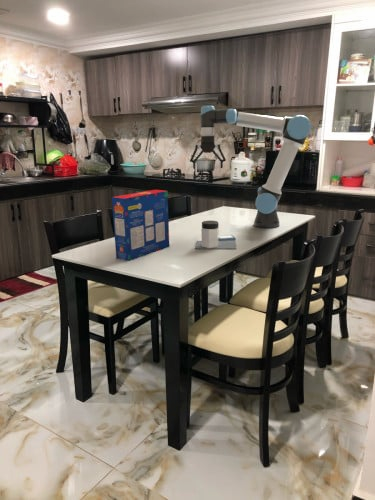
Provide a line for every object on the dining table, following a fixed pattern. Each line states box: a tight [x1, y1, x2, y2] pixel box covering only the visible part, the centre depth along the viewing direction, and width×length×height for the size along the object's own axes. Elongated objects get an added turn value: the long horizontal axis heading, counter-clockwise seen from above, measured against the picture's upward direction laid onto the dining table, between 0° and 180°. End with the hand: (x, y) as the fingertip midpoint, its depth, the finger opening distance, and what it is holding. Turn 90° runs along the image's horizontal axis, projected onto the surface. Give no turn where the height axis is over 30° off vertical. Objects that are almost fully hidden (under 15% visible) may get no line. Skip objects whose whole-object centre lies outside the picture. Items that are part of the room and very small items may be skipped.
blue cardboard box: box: [111, 189, 170, 262], centre depth 181 cm, size 28×8×28 cm, turn 142°
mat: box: [194, 240, 237, 250], centre depth 194 cm, size 20×14×1 cm
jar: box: [201, 220, 220, 248], centre depth 190 cm, size 9×8×12 cm
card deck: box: [219, 234, 237, 241], centre depth 205 cm, size 9×6×2 cm
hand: (208, 174), depth 221 cm, fingers open, 13 cm apart
